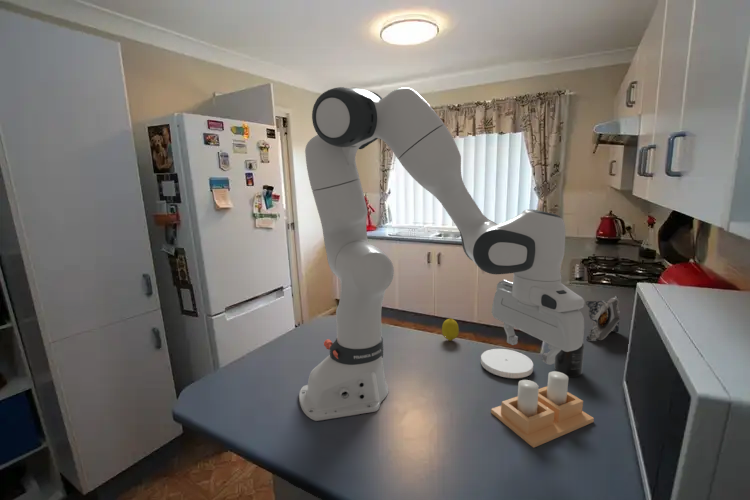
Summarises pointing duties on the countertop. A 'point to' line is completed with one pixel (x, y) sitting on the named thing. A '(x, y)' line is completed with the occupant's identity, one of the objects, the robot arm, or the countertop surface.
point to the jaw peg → (527, 397)
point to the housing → (546, 413)
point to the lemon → (450, 329)
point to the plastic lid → (507, 363)
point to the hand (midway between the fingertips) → (528, 352)
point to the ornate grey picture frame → (603, 318)
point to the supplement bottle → (570, 362)
